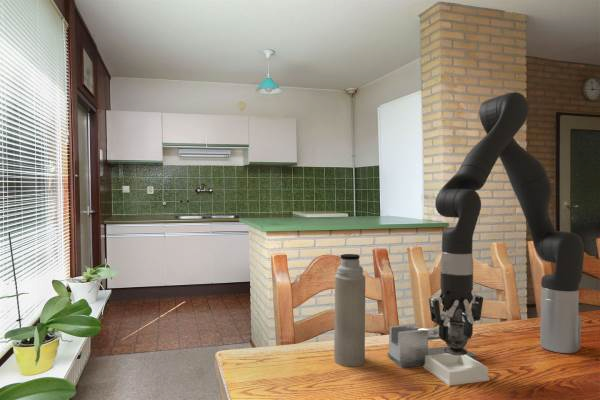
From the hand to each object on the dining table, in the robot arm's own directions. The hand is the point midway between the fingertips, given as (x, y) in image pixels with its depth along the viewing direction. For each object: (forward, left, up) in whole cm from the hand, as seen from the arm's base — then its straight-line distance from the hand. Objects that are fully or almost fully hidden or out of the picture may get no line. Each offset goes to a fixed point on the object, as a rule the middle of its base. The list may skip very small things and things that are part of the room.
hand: (455, 338), depth 109 cm
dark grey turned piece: (0, 0, -3) cm, 3 cm away
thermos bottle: (+22, -14, -9) cm, 28 cm away
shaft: (-2, -10, -5) cm, 12 cm away
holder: (0, 0, -9) cm, 9 cm away
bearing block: (0, -10, -9) cm, 14 cm away
